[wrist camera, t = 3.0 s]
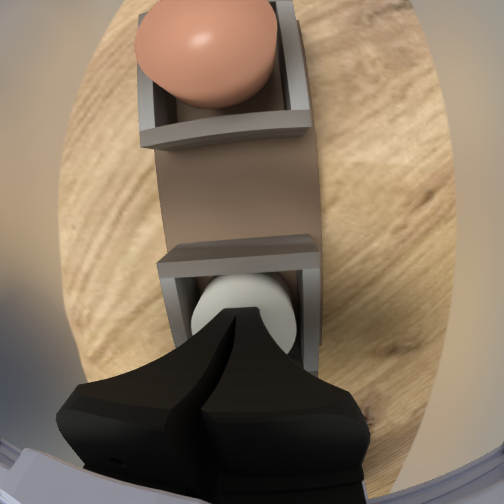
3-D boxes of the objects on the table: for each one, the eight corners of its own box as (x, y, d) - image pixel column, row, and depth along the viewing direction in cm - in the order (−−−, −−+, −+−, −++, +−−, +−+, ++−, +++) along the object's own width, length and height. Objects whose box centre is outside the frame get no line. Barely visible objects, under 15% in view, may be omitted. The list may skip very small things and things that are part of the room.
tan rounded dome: (280, 103, 8) (285, 82, 6) (164, 118, 9) (135, 105, 6) (268, 9, 7) (268, -26, 5) (161, 26, 8) (137, -2, 5)
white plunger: (293, 337, 13) (297, 368, 11) (210, 341, 13) (200, 372, 11) (289, 258, 12) (294, 279, 10) (197, 265, 12) (182, 286, 10)
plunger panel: (317, 333, 15) (330, 380, 11) (193, 339, 16) (174, 385, 12) (296, 30, 11) (305, -12, 7) (158, 49, 11) (125, 17, 7)
